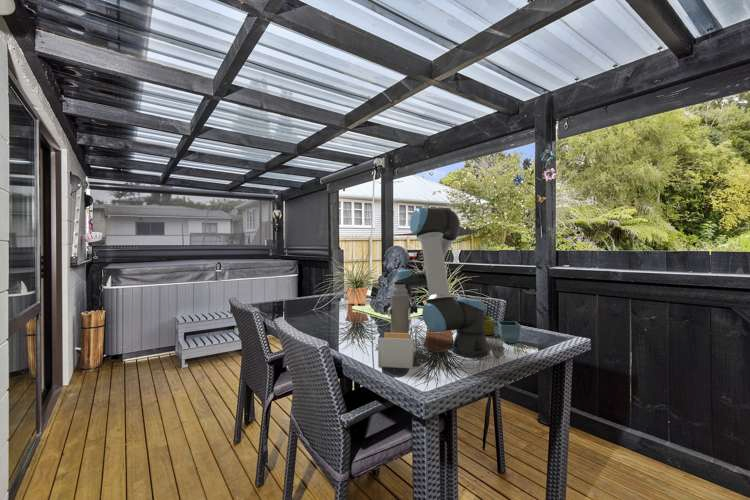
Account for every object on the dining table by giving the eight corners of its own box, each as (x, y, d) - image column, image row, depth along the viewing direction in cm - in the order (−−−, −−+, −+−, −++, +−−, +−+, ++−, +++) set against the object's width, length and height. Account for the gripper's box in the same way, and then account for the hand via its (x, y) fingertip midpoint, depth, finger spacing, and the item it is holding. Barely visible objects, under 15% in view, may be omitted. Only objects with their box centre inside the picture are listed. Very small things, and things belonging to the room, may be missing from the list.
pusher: (384, 357, 142) (384, 332, 142) (409, 358, 141) (409, 333, 140) (383, 360, 139) (383, 334, 138) (409, 361, 137) (408, 335, 137)
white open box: (383, 352, 152) (383, 327, 151) (414, 354, 150) (414, 328, 150) (378, 366, 135) (378, 338, 135) (412, 368, 133) (412, 339, 133)
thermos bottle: (404, 341, 161) (405, 280, 160) (411, 346, 153) (411, 282, 152) (388, 342, 159) (388, 280, 158) (394, 348, 151) (394, 283, 150)
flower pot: (497, 339, 172) (497, 320, 172) (516, 339, 171) (516, 321, 171) (501, 344, 163) (501, 325, 163) (520, 344, 162) (521, 325, 162)
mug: (493, 327, 187) (490, 311, 184) (498, 338, 177) (495, 321, 174) (470, 331, 189) (467, 315, 186) (473, 342, 179) (470, 325, 176)
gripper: (424, 311, 172) (423, 322, 149) (381, 310, 175) (374, 321, 152) (424, 296, 171) (423, 305, 149) (381, 295, 175) (374, 303, 152)
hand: (398, 313), depth 151 cm, fingers closed on thermos bottle, 8 cm apart
